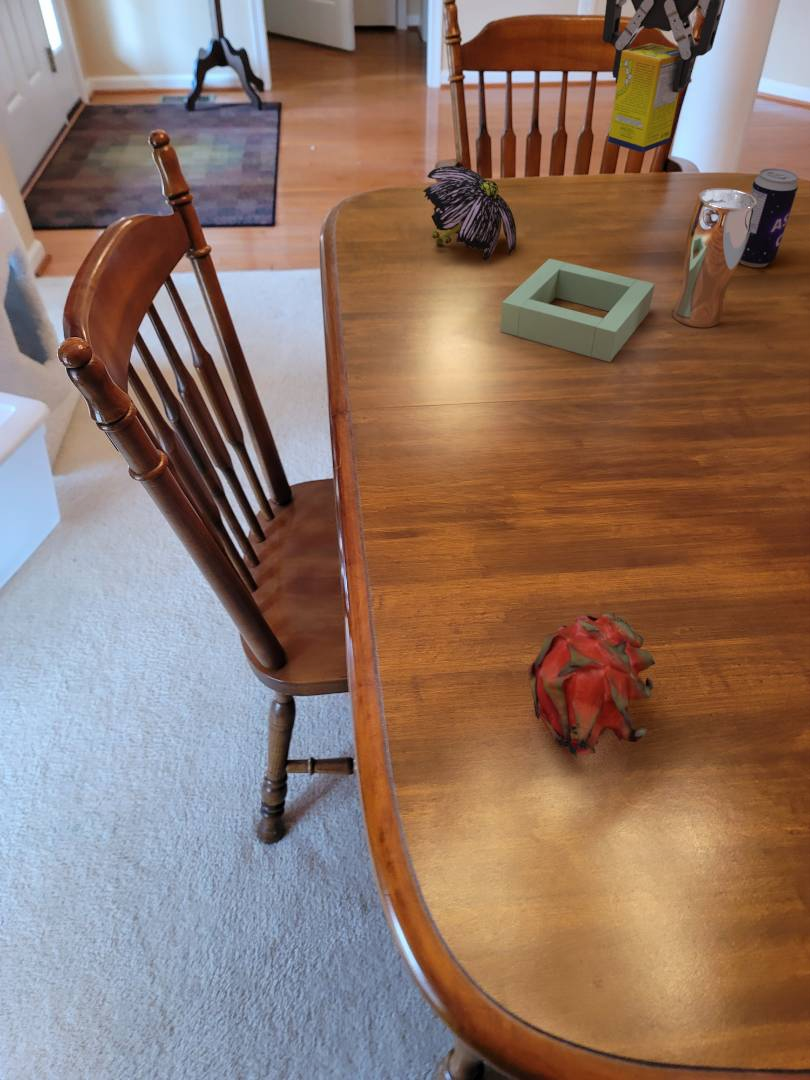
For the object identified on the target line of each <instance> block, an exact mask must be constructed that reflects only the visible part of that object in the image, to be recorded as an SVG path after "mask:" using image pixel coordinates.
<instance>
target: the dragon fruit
mask: <svg viewBox="0 0 810 1080" xmlns="http://www.w3.org/2000/svg"><path fill="white" fill-rule="evenodd" d="M643 645H644V638H643V637H642V635H640V634H639V633H637V632H636V631H635V630H634V628H633V627H632V626H631V625H630V624H628V623H627V622H626V621H625V620H624V619H623V617H622V616H620V615H617V618H616V615H615V613H613V612H606V613H602V614H601V615H599V616H597V617H596V616H592V615H589V614H581V615H578V616H576V617H575V619H574V624H572V625H568V626H566V625H560V626H559V627H558V628H557V630H556V632H551V633H548V634H546V635H545V636H544V637H543V639H542V645H541V648H540V651H539V653H538V655H537V656H536V658H535V660H534V661H533V662H532V663H531V664H530V665H529V667H528V669H527V677H528V681H529V686H530V690H531V697H532V700H533V708H534V715H535V718H536V719H537V720H540V719H541V722H542V723H543V725H544V726H545V728H546V729H547V730H548V732H549V733H551V736H552V737H553V739H554V743H556V744H557V745H558V746H559V747H562V746H563V747H565V748H567V749H568V752H569V753H570V754H571V755H573V756H574V758H577V757H579V756H584V755H585V756H586V755H591V754H596V749H595V747H596V745H598V743H599V739H600V737H599V735H600V732H601V731H602V730H603V729H605V728H606V727H607V728H608V729H609V730H611V731H612V732H613V733H614V735H615V736H616V738H617V739H618V740H619V741H622V740H624V741H627V742H631V743H637V742H639V741H640V740H641V739H644V737H645V736H646V734H647V733H648V731H649V729H648V728H644V727H642V728H641V727H640V728H637V729H635V728H633V727H632V726H633V723H634V721H633V718H632V716H630V714H629V704H630V703H629V701H630V700H646V699H650V698H651V697H652V695H653V693H652V692H653V691H652V690H653V689H654V684H653V681H652V680H651V679H650V678H649V677H646V679H645V682H644V680H643V679H642V678H641V676H640V673H641V672H643V671H645V670H647V669H649V668H650V667H652V666H654V665H656V660H655V659H654V657H653V655H652V654H651V653H650V652H649V651H648V650H646V649H643V648H642V647H643Z"/></svg>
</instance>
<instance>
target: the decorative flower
mask: <svg viewBox="0 0 810 1080" xmlns="http://www.w3.org/2000/svg"><path fill="white" fill-rule="evenodd" d="M427 178H428V179H432V180H440V181H437V182H435V183H433V184H431V185H430V186H428V187H426V188H425V189H424V190H422V193H423V192H424V193H425V194H424V198H426V197H427V201H430V202H431V204H433V206H434V207H433V214H432V215H430V216H431V219H432V221H433V223H434V226H435V227H436V230H434V231H432V234H431V237H432V239H434V240H435V242H436V243H435V244H436V245H437V246H442V245H443V244H444V243H445V244H447V245H449V244H451V243H452V240H453V239H452V235H454V234H457V236H456V239H455V242H456V243H462V244H464V246H465V248H466V249H468V248H469V247H470V248H471V249H472V250H474V249H476V250H479V251H480V250H481V252H482V257H481V260H483V261H485V262H488V260H489V259H490V258H491V256H492V255H493V253H494V251H495V249H496V247H497V245H498V242H499V239H500V236H501V229H502V230H503V234H504V237H505V239H506V241H507V242H506V243H507V249H508V255H509V256H511V254H512V252H513V251H514V252H515V250H516V246H517V227H516V221H515V217H514V215H513V212H512V210H511V208H510V205H508V203H507V201H505V199H504V198H503V197H502V196H501V195H500V194H499V187H498V185H497V183H496V182H495V181H493V180H492V181H491V180H490V179H485V178H484V177H483V176H482V175H480V174H479V173H478V172H476V171H474V170H472V169H470V168H467V167H463V166H456V165H449V166H448V165H447V166H441V167H440V166H439V167H438V168H434V169H432V170H431V171H429V173H428V174H427ZM437 230H438V231H443V232H442V233H441V234H440V233H439V232H438V231H437Z"/></svg>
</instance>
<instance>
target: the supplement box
mask: <svg viewBox="0 0 810 1080" xmlns="http://www.w3.org/2000/svg"><path fill="white" fill-rule="evenodd" d="M680 58H681V54H680V51H679V48H674V47H670V46H665V45H662V44H656V43H653V42H652V43H651V42H650V43H646V44H643V45H638V46H635V47H631V49H627V50H623V51H622V55H621V62H620V68H619V74H618V80H617V83H616V87H615V94H614V100H613V106H612V112H611V119H610V126H609V132H608V139H607V142H608V144H612V145H616V146H619V147H621V148H624V149H629V150H631V151H634V152H638V153H641V154H643V153H646V152H648V151H651V150H653V149H656V148H658V147H661V146H664V145H667V144H669V143H670V140H671V134H672V130H673V124H674V119H675V114H676V109H677V105H678V101H679V95H680V92H678V93H676V92H672V89H673V84H674V79H675V74H676V69H677V64H678V59H680Z"/></svg>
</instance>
